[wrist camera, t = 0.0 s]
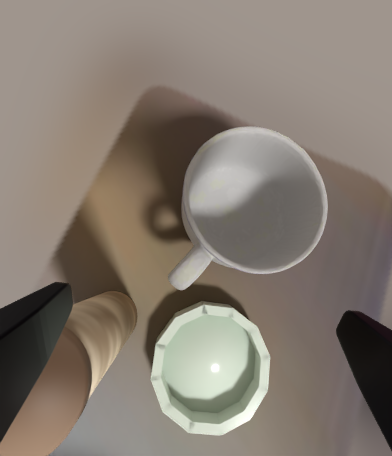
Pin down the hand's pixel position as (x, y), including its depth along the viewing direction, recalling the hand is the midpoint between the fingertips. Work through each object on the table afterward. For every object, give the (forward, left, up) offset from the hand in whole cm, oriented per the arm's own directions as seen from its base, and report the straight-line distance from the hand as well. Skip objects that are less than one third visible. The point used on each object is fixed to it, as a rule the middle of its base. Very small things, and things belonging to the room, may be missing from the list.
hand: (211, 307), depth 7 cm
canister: (0, +8, -15) cm, 17 cm away
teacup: (+4, -5, -15) cm, 16 cm away
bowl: (-7, +1, -15) cm, 17 cm away
